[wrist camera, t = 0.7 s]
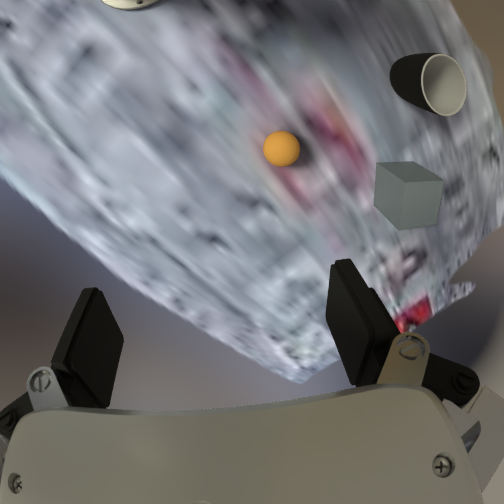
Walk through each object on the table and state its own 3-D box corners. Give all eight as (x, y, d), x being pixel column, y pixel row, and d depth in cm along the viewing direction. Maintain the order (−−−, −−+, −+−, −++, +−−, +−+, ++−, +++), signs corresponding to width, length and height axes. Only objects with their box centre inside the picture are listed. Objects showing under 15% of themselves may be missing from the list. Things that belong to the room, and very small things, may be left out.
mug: (394, 112, 39) (433, 126, 31) (373, 61, 34) (411, 63, 26) (444, 89, 37) (484, 99, 28) (426, 42, 32) (468, 43, 24)
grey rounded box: (376, 162, 44) (405, 182, 36) (413, 161, 44) (444, 180, 37) (373, 205, 48) (398, 230, 41) (409, 201, 48) (436, 224, 41)
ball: (259, 129, 39) (264, 136, 35) (293, 126, 40) (303, 133, 35) (262, 162, 42) (268, 173, 38) (295, 159, 42) (304, 169, 38)
